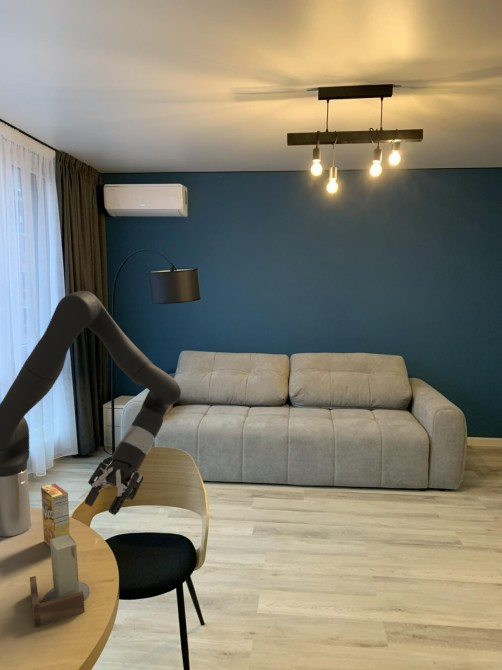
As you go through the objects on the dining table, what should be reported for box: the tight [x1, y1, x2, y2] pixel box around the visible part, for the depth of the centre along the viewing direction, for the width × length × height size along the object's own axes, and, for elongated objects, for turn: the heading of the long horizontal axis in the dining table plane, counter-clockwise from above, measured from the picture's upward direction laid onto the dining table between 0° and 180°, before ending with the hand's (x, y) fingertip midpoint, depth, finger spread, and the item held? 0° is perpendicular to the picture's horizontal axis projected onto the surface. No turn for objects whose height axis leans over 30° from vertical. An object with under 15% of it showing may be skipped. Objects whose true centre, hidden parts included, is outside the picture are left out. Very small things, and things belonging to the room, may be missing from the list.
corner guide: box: [29, 575, 85, 628], centre depth 106 cm, size 12×10×4 cm
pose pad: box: [43, 581, 91, 602], centre depth 108 cm, size 10×10×1 cm
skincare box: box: [50, 534, 80, 598], centre depth 108 cm, size 6×4×12 cm
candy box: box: [40, 483, 71, 549], centre depth 129 cm, size 9×4×15 cm, turn 43°
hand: (99, 509), depth 115 cm, fingers open, 8 cm apart
